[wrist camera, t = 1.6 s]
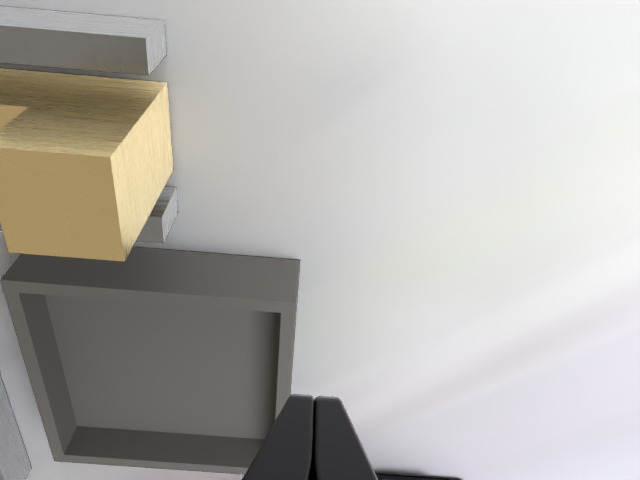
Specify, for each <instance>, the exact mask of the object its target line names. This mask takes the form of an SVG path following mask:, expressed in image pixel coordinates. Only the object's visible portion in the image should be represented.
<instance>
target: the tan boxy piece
mask: <svg viewBox="0 0 640 480" xmlns="http://www.w3.org/2000/svg"><path fill="white" fill-rule="evenodd" d="M172 171H173V156H172V142H171V128H170V114H169V101H168V87H167V82H155V81H143V80H132V79H120V78H108V77H97V76H85V75H73V74H62V73H50V72H38V71H27V70H15V69H3V68H0V223H1V226H2V230H3V234H4V237H5V241H6V244H7V248H8V252H9V253H22V254H35V255H47V256H60V257H73V258H86V259H98V260H111V261H124V262H125V260H126V258H127V256H128V254H129V253H130V251H131V249H132V247H133V245H134V243H135V241H136V239H137V237H138V236H139V234H140V232H141V230H142V228H143V226H144V224H145V222H146V220H147V219H148V217H149V215H150V213H151V211H152V209H153V207H154V205H155V203H156V202H157V200H158V198H159V196H160V194H161V192H162V190H163V188H164V187H165V185H166V183H167V181H168V179H169V177H170V175H171V173H172Z"/></svg>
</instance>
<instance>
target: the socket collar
mask: <svg viewBox="0 0 640 480" xmlns="http://www.w3.org/2000/svg"><path fill="white" fill-rule="evenodd" d="M31 468H32V467H31V464H30V461H29V459H28V456H27V453H26V450H25V447H24V444H23V441H22V438H21V435H20V432H19V429H18V426H17V423H16V420H15V417H14V414H13V411H12V408H11V405H10V402H9V399H8V396H7V393H6V390H5V388H4V385H3V382H2V379H1V376H0V480H26V478H27V476H28V474H29V472H30V470H31Z"/></svg>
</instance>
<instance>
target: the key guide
mask: <svg viewBox="0 0 640 480" xmlns="http://www.w3.org/2000/svg"><path fill="white" fill-rule="evenodd" d="M166 55H167V48H166V34H165V20H155V19H144V18H133V17H121V16H110V15H99V14H87V13H76V12H65V11H53V10H42V9H31V8H19V7H8V6H0V63H11V64H23V65H35V66H46V67H58V68H70V69H81V70H93V71H104V72H116V73H128V74H139V75H150V73H151V72H152V71H153V70H154V69H155V68H156V67H157V65H158V64H159V63H160V62H161V61H162V60H163V59H164V57H165V56H166ZM177 213H178V204H177V190H176V187H164V188H163V190H162V192H161V194H160V196H159V198H158V200H157V202H156V203H155V205H154V207H153V209H152V211H151V213H150V215H149V217H148V219H147V220H146V222H145V224H144V226H143V228H142V230H141V232H140V234H139V236H138V237H137V239H136V241H143V242H156V243H164V242H165V240H166V238H167V235H168V233H169V231H170V229H171V226H172V224H173V222H174V220H175V218H176V215H177ZM0 230H2V226H1V223H0Z"/></svg>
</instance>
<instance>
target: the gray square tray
mask: <svg viewBox="0 0 640 480" xmlns="http://www.w3.org/2000/svg"><path fill="white" fill-rule="evenodd" d="M299 270H300V260H294V259H281V258H268V257H256V256H243V255H230V254H218V253H205V252H192V251H180V250H167V249H155V248H142V247H132V249H131V251H130V253H129V254H128V256H127V258H126V260H125V262H124V261H111V260H98V259H86V258H73V257H60V256H47V255H35V254H21V255H20V256H19V257H18V259H17V260H16V261H15V262H14V264H13V265H12V266H11V267H10V269H9V270H8V271H7V272H6V274H5V275H4V276H3V277H2V279H1V280H0V281H1V284H2V288H3V291H4V294H5V298H6V301H7V304H8V308H9V311H10V314H11V318H12V321H13V325H14V328H15V331H16V335H17V338H18V341H19V345H20V348H21V351H22V355H23V358H24V361H25V365H26V368H27V371H28V375H29V378H30V382H31V385H32V388H33V392H34V395H35V398H36V402H37V405H38V408H39V412H40V415H41V418H42V422H43V425H44V428H45V432H46V435H47V439H48V442H49V445H50V449H51V452H52V455H53V459H54V461H60V462H74V463H88V464H102V465H117V466H131V467H145V468H159V469H173V470H188V471H202V472H216V473H230V474H246V472H247V470H248V468H249V466H250V465H251V463H252V461H253V459H254V458H255V456H256V454H257V452H258V450H259V449H260V447H261V445H262V443H263V442H264V440H265V438H266V436H267V434H268V433H269V431H270V429H271V427H272V426H273V424H274V422H275V420H276V418H277V417H278V415H279V413H280V411H281V410H282V408H283V406H284V404H285V402H286V401H287V399H288V397H289V396H290V392H291V379H292V365H293V352H294V338H295V324H296V311H297V297H298V284H299Z"/></svg>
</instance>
